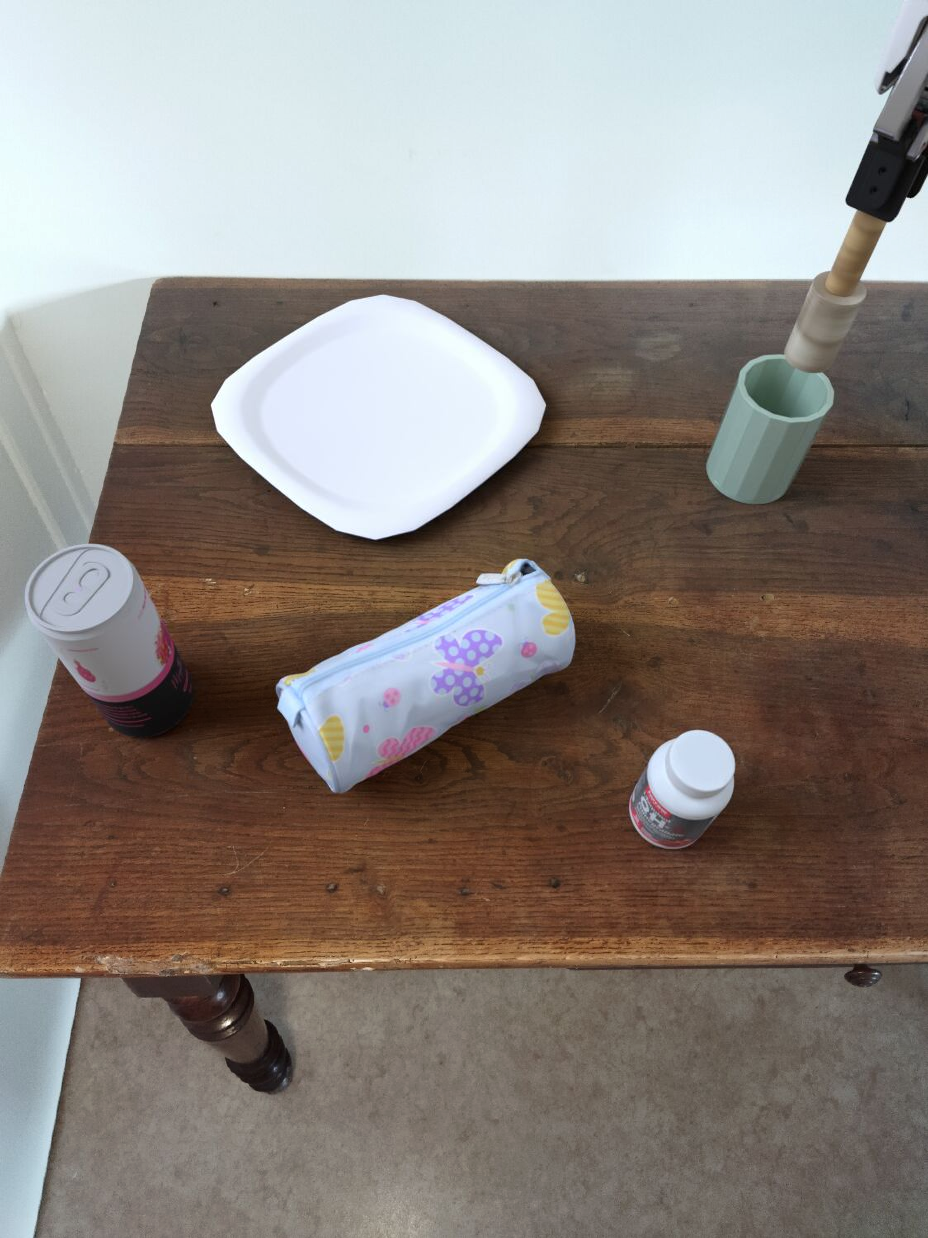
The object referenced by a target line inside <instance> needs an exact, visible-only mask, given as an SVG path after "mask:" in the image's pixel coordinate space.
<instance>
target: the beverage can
mask: <svg viewBox="0 0 928 1238" xmlns="http://www.w3.org/2000/svg"><path fill="white" fill-rule="evenodd" d="M24 602H25V607H26V612H27V616H28V617H29V620H30V621H31V623H32V625H33V626H34V627H35V629H36V630H37V631H38V633H39V634H40V635H41V636H42V638H43V639H44V640H45V642H46V643H47V644H48V645H49V648H51V650H52V651H53V652H54V653H55V655H56V656H57V657H58V658H59V660H60V662H61V663H62V665H63V666H64V667H65V668H66V669H67V671H68V672H69V673H70V675H71V676H72V677H73V679H74V680H75V681H76V683H77V684H78V685H79V686H80V687H81V689H82V690H83V692H84V693H85V694H86V696H87V697H88V698H89V699H90V701H91V702H92V703H93V705H94V706H95V708H96V709H97V710H98V712H99V713H100V714H101V715H102V717H103V718H104V719H105V720H106V722H107V723H108V725H109V726H110V727H111V728H113V729H114V731H116V732H118V733H120V734H121V735H124V736H127V737H132V738H149V737H153V736H154V737H155V736H158V735H160V734H163V733H166V732H167V731H169V730H171V729H172V728H174V727H175V726H176V725H177V724H179V723H180V722H181V721H182V720H183V719H184V717H185V716H186V715H187V713H188V711H189V710H190V708H191V706H192V704H193V702H194V701H193V700H194V697H195V686H194V685H195V684H194V680H193V678H192V676H191V674H190V673H191V672H189V669H188V668H187V665H186V663H185V662H184V659H183V658H182V656H181V654H180V652H179V650H178V648H177V647H176V645H175V642H174V640H173V638H172V637H171V634H170V632H169V631H168V629H167V627H166V625H165V622H164V620H163V619H162V617H161V614H160V613H159V612H158V609H157V607H156V605H155V603H154V601H153V599H152V597H151V595H150V594H149V591H148V590H147V587H146V586H145V583H144V582H143V580H142V578H141V576H140V574H139V572H138V570H137V568H136V567H135V565H134V564H133V563H132V561H131V560H130V559H128V558H127V557H125V555H123V554H122V552H120V551H119V550H116V549H115V548H113V547H111V546H108V545H104V544H99V543H82V544H81V543H80V544H76V545H71V546H67V547H65V548H61V549H60V550H58V551H56V552H54V553H53V554H51V555H49V556H48V557H47V558H45V559H44V560H43V561H42V562H41V563H40V564H38V565H37V567H36V568H35V569H34V570H33V571H32V573H31V575H30V576H29V578H28V580H27V583H26V585H25V589H24Z"/></svg>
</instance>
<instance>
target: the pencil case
mask: <svg viewBox="0 0 928 1238" xmlns="http://www.w3.org/2000/svg"><path fill="white" fill-rule="evenodd" d="M475 584H477V585H479V586H477V587H474V588H473V589H470V590H467V591H466V592H464V593H462V594H460V595H458V596H456V597H454V598H452V599H449V600H447V601H445V602H443V603H440V604H439V605H437V606H436V607H434V608H432V609H430V610H428V611H426V612H424V613H422V614H420V615H419V616H417V617H414V618H413V619H411V620H409V621H407V622H405V623H403V624H402V625H400V626H398V627H396V628H393V629H391V630H389V631H386V632H385V633H383V634H381V635H380V636H378V637H376V638H374V639H372V640H368V641H366V642H362V643H360V644H357V645H353V646H352V647H349V648H347V649H346V650H344V651H342V652H341V653H339V654H336V655H333V656H330V657H329V658H327V659H325V660H323V661H321V662H320V663H318V664H316V665H314V666H313V667H311V668H310V669H309V670H308V671H305V672H302V673H295V674H289V675H286V676H284V677H282V678H281V679H279V681H278V683H277V684H276V686H275V693H276V695H277V698H278V703H277V708H276V709H277V710H278V711H279V712H280V713H281V715H282V716H283V717H284V718H285V720H286V722H287V724H288V728H289V730H290V733H291V734H292V736H293V738H294V742H295V743H296V745H297V746H298V748H299V750H300V751H301V753H302V755H303V756H304V758H306V760H307V761H308V762H309V763H310V765H311V766H312V768H313V769H314V770H315V771H316V773H317V774H318V775H319V776H320V777H321V778H322V780H324V781H325V782H326V784H327V786H328V787H329V788H330V790H331V791H332V793H334V794H340V795H341V794H344V793H346V792H348V791H349V790H350V789H352V788H353V787H354V786H355V785H357V784H358V783H360V782H363V781H365V780H366V779H368V778H370V777H373V776H375V775H377V774H379V773H380V772H381V771H383V770H385V769H386V768H388V767H391V766H393V765H394V764H397V763H398V762H400V761H402V760H404V759H406V758H408V757H409V756H411V755H413V754H414V753H416V752H418V751H419V750H421V749H422V748H424V747H425V746H427V745H429V744H430V743H432V742H433V741H435V740H437V739H438V738H439V737H441V736H442V735H443V734H445V733H446V732H447V731H448V730H450V729H451V728H452V727H454V726H456V725H459V724H460V723H462V722H463V721H464V720H466V719H467V718H470V717H472V716H474V715H476V714H479V713H480V712H483V711H485V710H486V709H489V708H491V707H492V706H494V705H496V704H497V703H499V702H501V701H503V700H504V699H506V698H508V697H509V696H512V695H513V694H515V693H516V692H518V691H520V690H522V689H524V688H526V687H528V686H529V685H531V684H533V683H535V682H536V681H537V680H539V679H541V677H543V676H545V675H550V674H554V673H557V672H560V671H563V670H565V669H566V668H567V667H569V665H570V664H571V663H572V659H573V656H574V652H575V647H576V630H575V623H574V620H573V617H572V614H571V612H570V609H569V607H568V605H567V603H566V601H565V599H564V598H563V596H562V595H561V593H560V592H559V590H558V589H557V587H556V586H555V585H554V584H553V583H552V578H551V576H549V575H548V574H547V573H546V572H545V571H544V570H543V569H542V568H541V567H540V566H539V565H538V564H537V563H536V562H535V561H534V560H530V559H528V558H516V559H514V560H512V561H510V562H509V563H508V564H507V565H505V567H504V568H503V570H502V572H501V573H480V574H479V576H478V577H477V579H476V583H475Z"/></svg>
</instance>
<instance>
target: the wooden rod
mask: <svg viewBox="0 0 928 1238" xmlns="http://www.w3.org/2000/svg"><path fill="white" fill-rule="evenodd" d="M924 116H925V114H924V113H921V112H919V111H916V110H913V112H912V115H911V117H912V118H916V119H918V120H919V125H918V127H919V126H920V124H921V122H922V120H923V118H924ZM927 145H928V141H927V143H926V145H925V147H924V149H925V148H926V147H927ZM924 149H923V150H924ZM887 223H888V222H885V221H882V220H880V219H878V218H875V217H873V216H871V215H868V214H866V213H864V212H861V211H859V210H857V209H856V211H855V213H854V215H853V218H852V220H851V222H850V225H849V227H848V230H847V232H846V234H845V236H844V238H843V241H842V243H841V245H840V248H839V250H838V252H837V255H836V257H835V259H834V261H833V264H832V266H831V269H830V270H826V271H823V272H822V271H821V272H820V273H818V274H817V275H815V277H814V278H813V280H812V282H811V285H810V287H809V289H808V292H807V294H806V297H805V298H804V302H803V303H802V306H801V309H800V310H799V313H798V315H797V318H796V320H795V324H794V326H793V327H792V330H791V332H790V335H789V338H788V340H787V342H786V344H785V347H784V350H783V355H784V356H785V358H786V360H787V361H788V363H789V364H790V365H792V366H793V367H794V368H796V369H798V370H800V371H803V372H807V373H821V372H822V373H824V372H827V371H828V370H830V369H831V368H832V367H833V365H834V363H835V361H836V358H837V357H838V354H839V352H840V350H841V348H842V346H843V344H844V342H845V340H846V338H847V336H848V334H849V332H850V329H851V327H852V326H853V323H854V321H855V319H856V317H857V316H858V313H859V311H860V309H861V307H862V305H863V303H864V301H865V299H866V297H867V288H866V286H865V284H864V282H863V281H862V280H861V279H862V277H863V275H864V272H865V270H866V268H867V266H868V264H869V262H870V260H871V257H872V255H873V253H874V251H875V249H876V247H877V245H878V243H879V240H880V239H881V237H882V235H883V232H884V231H885V228H886V225H887Z"/></svg>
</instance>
